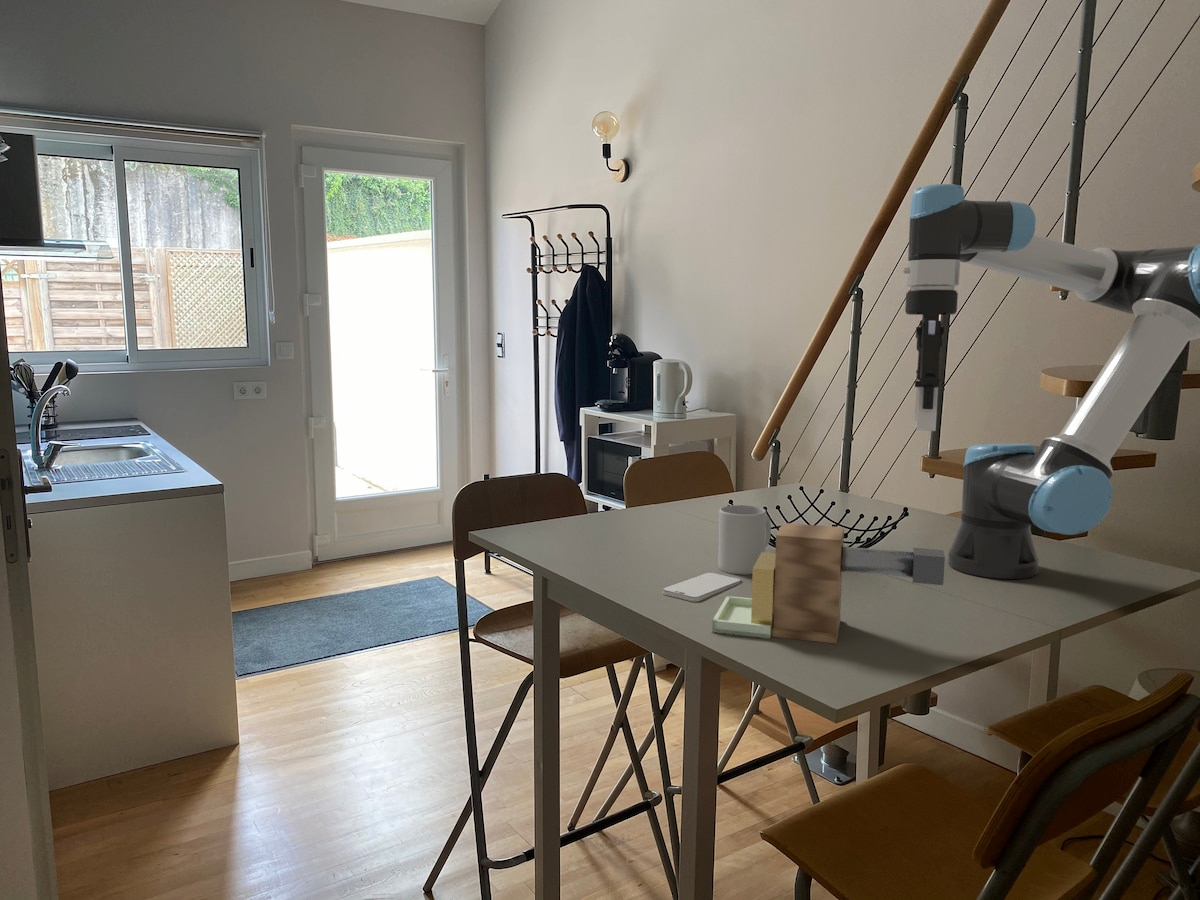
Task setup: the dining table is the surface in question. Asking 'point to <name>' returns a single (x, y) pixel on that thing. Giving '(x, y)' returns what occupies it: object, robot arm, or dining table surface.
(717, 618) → the green tray
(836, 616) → the walnut housing
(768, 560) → the yellow square block
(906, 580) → the dining table surface
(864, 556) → the steel shaft
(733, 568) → the mug
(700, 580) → the smartphone
